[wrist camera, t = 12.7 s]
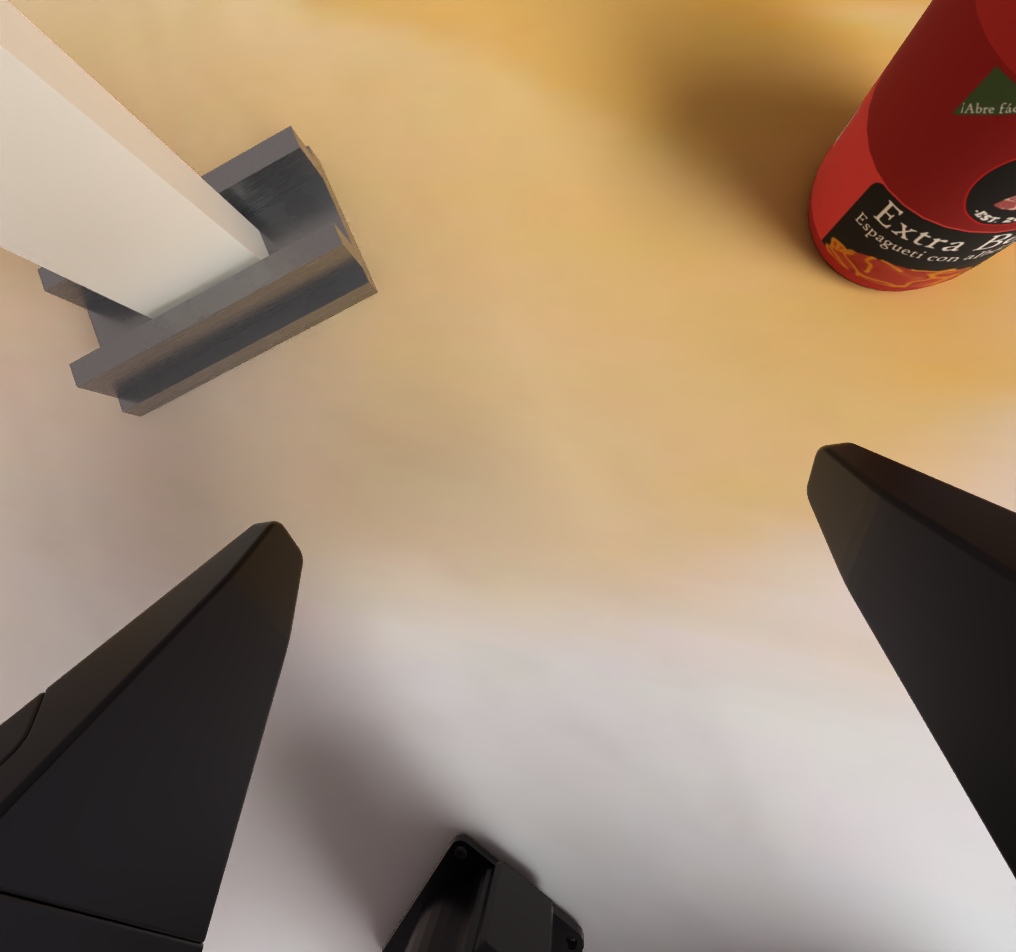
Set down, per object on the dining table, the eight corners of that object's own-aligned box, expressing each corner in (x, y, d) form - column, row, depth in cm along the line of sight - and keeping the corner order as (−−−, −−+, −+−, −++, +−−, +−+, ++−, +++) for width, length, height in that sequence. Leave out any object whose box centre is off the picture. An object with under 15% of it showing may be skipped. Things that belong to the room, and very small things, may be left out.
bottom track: (377, 291, 24) (349, 259, 21) (140, 416, 25) (82, 402, 22) (319, 160, 25) (284, 111, 22) (94, 285, 26) (33, 255, 23)
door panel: (276, 273, 23) (-87, -27, 10) (173, 328, 24) (-294, 107, 11) (256, 224, 24) (-118, -122, 11) (155, 280, 24) (-316, 12, 11)
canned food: (791, 291, 21) (1026, 48, 10) (810, 120, 22) (1053, -285, 11) (988, 306, 20) (1489, 51, 9) (1003, 125, 20) (1493, -321, 10)
